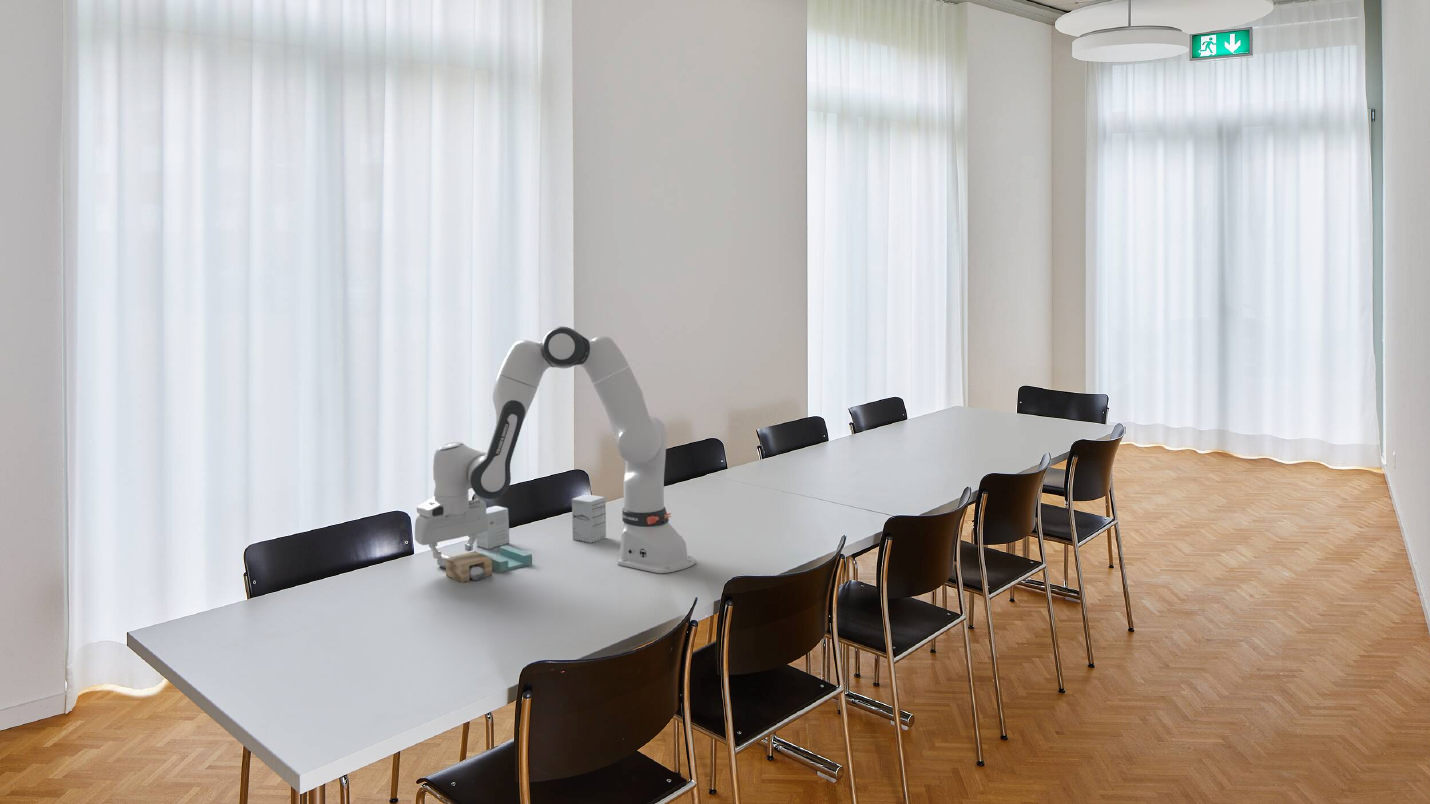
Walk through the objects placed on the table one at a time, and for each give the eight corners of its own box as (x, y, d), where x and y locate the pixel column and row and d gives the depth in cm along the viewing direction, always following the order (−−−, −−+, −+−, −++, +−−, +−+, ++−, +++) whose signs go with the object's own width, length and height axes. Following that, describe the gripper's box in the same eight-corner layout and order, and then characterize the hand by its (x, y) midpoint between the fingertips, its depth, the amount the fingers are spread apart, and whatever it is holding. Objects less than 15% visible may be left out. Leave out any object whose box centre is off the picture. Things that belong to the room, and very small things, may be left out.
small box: (497, 539, 286) (496, 505, 285) (510, 543, 283) (508, 508, 281) (475, 545, 280) (474, 510, 278) (487, 549, 276) (486, 513, 275)
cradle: (532, 564, 262) (531, 554, 262) (500, 572, 255) (500, 562, 255) (507, 554, 271) (507, 545, 270) (476, 562, 264) (475, 552, 263)
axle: (486, 577, 251) (483, 565, 250) (475, 583, 248) (472, 572, 247) (450, 562, 263) (446, 551, 262) (439, 569, 261) (435, 557, 260)
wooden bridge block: (492, 574, 254) (491, 557, 253) (462, 582, 247) (461, 565, 247) (475, 568, 259) (475, 551, 259) (446, 575, 253) (445, 558, 252)
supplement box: (571, 540, 285) (570, 498, 283) (587, 534, 291) (586, 493, 290) (591, 543, 281) (590, 501, 279) (607, 537, 288) (606, 496, 286)
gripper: (479, 495, 265) (481, 544, 267) (410, 508, 251) (412, 559, 253) (492, 499, 261) (493, 548, 263) (422, 512, 247) (424, 564, 249)
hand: (453, 554), depth 258 cm, fingers open, 8 cm apart
